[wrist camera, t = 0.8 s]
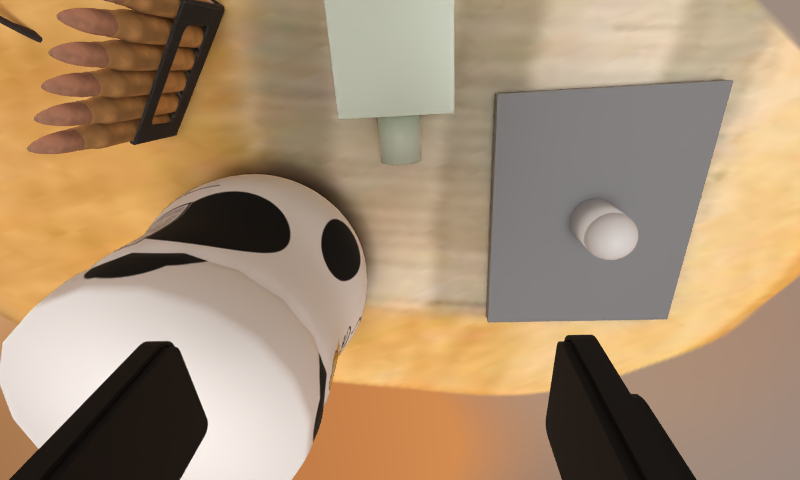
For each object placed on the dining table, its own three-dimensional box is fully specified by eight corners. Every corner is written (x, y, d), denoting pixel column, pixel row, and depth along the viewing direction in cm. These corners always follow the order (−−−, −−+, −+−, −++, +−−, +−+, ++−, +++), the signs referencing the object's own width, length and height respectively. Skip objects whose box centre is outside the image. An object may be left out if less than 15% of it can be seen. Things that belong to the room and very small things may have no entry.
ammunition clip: (201, -10, 27) (49, -60, 16) (225, 7, 27) (93, -31, 16) (154, 123, 31) (6, 155, 20) (175, 136, 31) (43, 174, 20)
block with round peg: (347, 3, 27) (321, -18, 20) (445, -4, 26) (454, -28, 19) (361, 148, 31) (344, 172, 24) (447, 144, 30) (454, 167, 23)
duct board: (495, 93, 28) (512, 99, 23) (723, 79, 27) (798, 83, 22) (486, 315, 37) (497, 359, 31) (660, 312, 36) (704, 357, 30)
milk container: (350, 350, 39) (300, 553, 23) (181, 307, 38) (2, 489, 22) (394, 195, 32) (367, 330, 16) (189, 137, 31) (-69, 217, 15)
